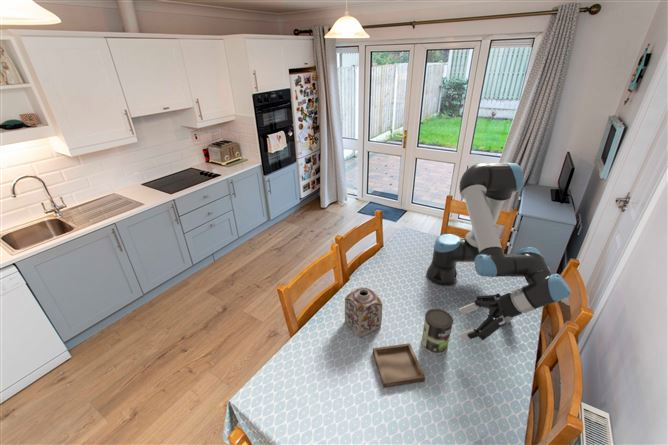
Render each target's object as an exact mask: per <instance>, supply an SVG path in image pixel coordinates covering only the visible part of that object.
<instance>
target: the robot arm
mask: <svg viewBox="0 0 668 445" xmlns="http://www.w3.org/2000/svg"><path fill="white" fill-rule="evenodd" d="M524 184H525V178H524V171H523V169H522V167H521V166H520V165H519V164H517V163H514V162H489V163H487V162H486V163H485V162H482V163H475V164H473V165H471V166H469V167H468V168H467V169H465V171H464V173H462V176H461V178H460V181H459V189H458V190H459V193H460V197H461V199H463V200H464V202H465V205H466V210H467V213H468V216H469V220H470V224H471V229H470V231H469V232H466V234H465V236H464V238H461V237H459V236H458V235H456V234H452V233H444V234H441V235H439V236H438V237H437V238H436V239H435V241H434V244H433V253H432V259H431V263H430V264H429V266H428V268H427V270H426V277H427V279H428V280H429V281H430V282H432V283H434V284H436V285H439V286H442V287H443V286H446V287H449V286H452V285H455V283H457V280H458V271H457V263H474V268H475V272H476V273H477V275H479V276H480V277H490V278H496V277H502V278H503V277H504V278H506V277H509V278H510V277H511V278H513V277H514V278H515V277H516V278H517V277H520V278H521V277H523V278H524V279H525V281H526V282H527V285H525V286H522V287H520V288H518V289H517V288H516V289H515V290H513V291H511V292H507V293H504V294H502V295H501V294H500V293H495V294H490V295H488V294H487V295H477V296H476V297H475V298H476V299H475V300H474V301H473V302H471V303H469V304H466V305H465V306H464V305H463V306H462V307H459V309H458V310H459V312H461V314H463V315H467V314H469V313H471V312H474V311H477V310H478V309H479V308H484V309H488V310H489V311H488V315H487V316H486V317H487V318H486V319H485V320H483V321H482V323H480V325H478V327H477V328H472V329H471V328H470V329H469V330H465V331H463V332H460V333H457V334H458V335H457V337H458V338H460V339H461V341H462V342H464V341H467V340H472V339H475V338H479V339H480V340H481V341H484V340H486V339H488V338H489V337H490V336H491V335H493V333H495V332H496V331H498V330H499V329H501V327H505V326H507V324H508V323H506V322H505V321H504V318H505V317H507V316H509V317H513V318H514V317H518V316H520V315H522V314H527V313H529V312H532V311H534V310H536V309H539V308H542V307H545V306H547V305H551V304H555V303H558V302H560V301H561V300H564V299H567V298H568V297H570V296H571V295H572V290H571V288H570V286H569V285H568V284H567V282H566V281H565V279H564V278H563V277H562V275H560V274H559V273H554V274H553V273H552V272H551V270H550V268H549V266H548V265H547V262H546V260H545V258H544V256H543V255H542V254H541V252H540V250H538V248H536V247H533V246H526V247H525V248H524V247H522V248H520V249H519V250H517V251H516V253H514V254H512V253H511V254H509V253H508V254H506V253H504V250H503V247H502V244H501V241H500V237H499V235H498V232H497V228H496V223H497V221H498V218H499V217H500V214H501V212H502V209H503V206H504V204H505V202H506V201H509V200H510V199H511V198H512V195H513V193H518V192H520V191H521V190H522V189H523V187H524Z"/></svg>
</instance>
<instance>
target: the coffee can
mask: <svg viewBox="0 0 668 445" xmlns="http://www.w3.org/2000/svg"><path fill="white" fill-rule="evenodd" d="M453 325H454V318H453V316H452V315H451V314H450V313H449V312H448V311H447V310H444V309H441V308H430V309H428V310H427V311H426V312H425V314H424V323H423V330H422V335H421V346H422V347H423V349H424V350H426V352H429V353H430V354H433V355H443V354H445V352H447V350H448V348H449V342H450V337H451V334H452V333H451V332H452V329H453Z"/></svg>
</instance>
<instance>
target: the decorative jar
mask: <svg viewBox="0 0 668 445" xmlns="http://www.w3.org/2000/svg"><path fill="white" fill-rule="evenodd" d="M382 318H383V302H382V300H381V299H380V297H379V296H378V294H377V293H376V292H375V291H374V290H373V289H372V288H368V287H361V286H359V287H357V288H355V289H351V291H350V292H349V293H348V294H347V295H346V296H345V298H344V321H345V323H346V324H347V325H348V326H349V328H350V329H351V330H352V331H353V332H354V333H355V335H356V336H357V337H358V338H362V337H364V336H366V335H368V334H370V333H372V332H374V331H375V330H378V329H381V327H382V323H383V322H382V321H383V319H382Z"/></svg>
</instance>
